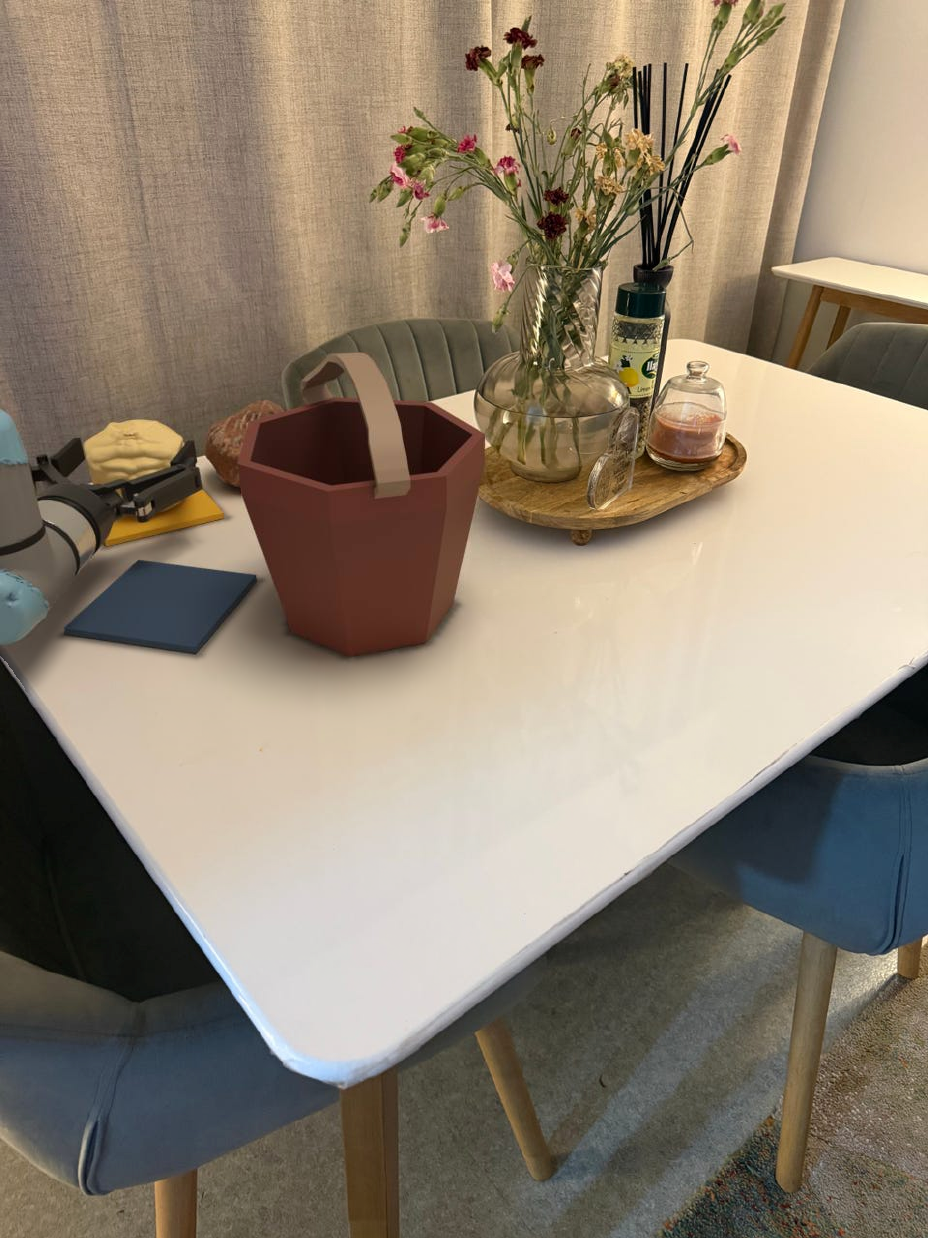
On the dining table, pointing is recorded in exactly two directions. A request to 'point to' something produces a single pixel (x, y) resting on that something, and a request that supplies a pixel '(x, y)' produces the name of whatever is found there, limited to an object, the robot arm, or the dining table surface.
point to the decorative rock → (233, 438)
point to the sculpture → (131, 451)
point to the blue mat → (163, 606)
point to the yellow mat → (166, 519)
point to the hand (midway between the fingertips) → (136, 449)
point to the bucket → (362, 508)
